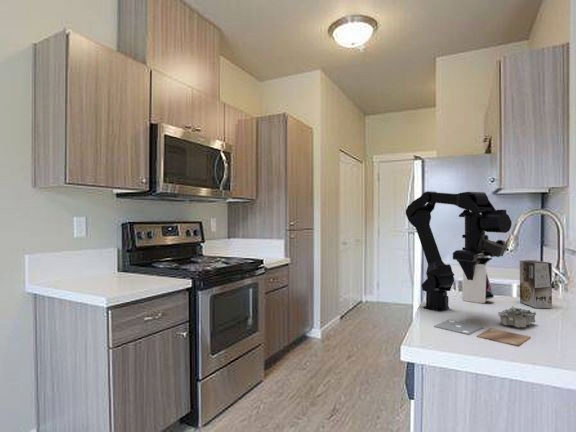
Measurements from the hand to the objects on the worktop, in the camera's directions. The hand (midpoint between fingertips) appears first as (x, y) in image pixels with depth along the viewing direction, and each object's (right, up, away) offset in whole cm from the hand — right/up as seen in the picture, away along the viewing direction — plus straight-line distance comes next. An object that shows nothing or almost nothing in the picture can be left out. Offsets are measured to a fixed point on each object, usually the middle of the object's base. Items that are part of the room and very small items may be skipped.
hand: (474, 280), depth 116 cm
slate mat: (-9, -13, -8) cm, 17 cm away
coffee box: (+32, -13, +19) cm, 40 cm away
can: (-1, -7, -1) cm, 7 cm away
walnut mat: (-1, -13, -17) cm, 21 cm away
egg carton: (+12, -13, -6) cm, 19 cm away
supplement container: (+16, -13, +26) cm, 33 cm away
